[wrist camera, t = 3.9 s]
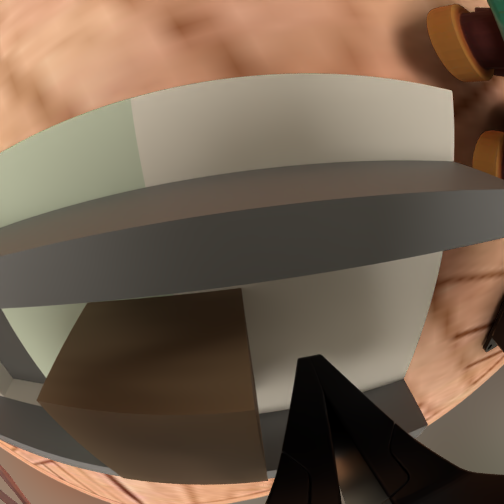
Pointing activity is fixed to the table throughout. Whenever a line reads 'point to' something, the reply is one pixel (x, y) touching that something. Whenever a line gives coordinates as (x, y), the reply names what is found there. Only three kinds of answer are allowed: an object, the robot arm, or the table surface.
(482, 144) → the binoculars
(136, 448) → the walnut block
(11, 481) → the flower
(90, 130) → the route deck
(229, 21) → the table surface
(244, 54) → the table surface
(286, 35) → the table surface
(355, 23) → the table surface
